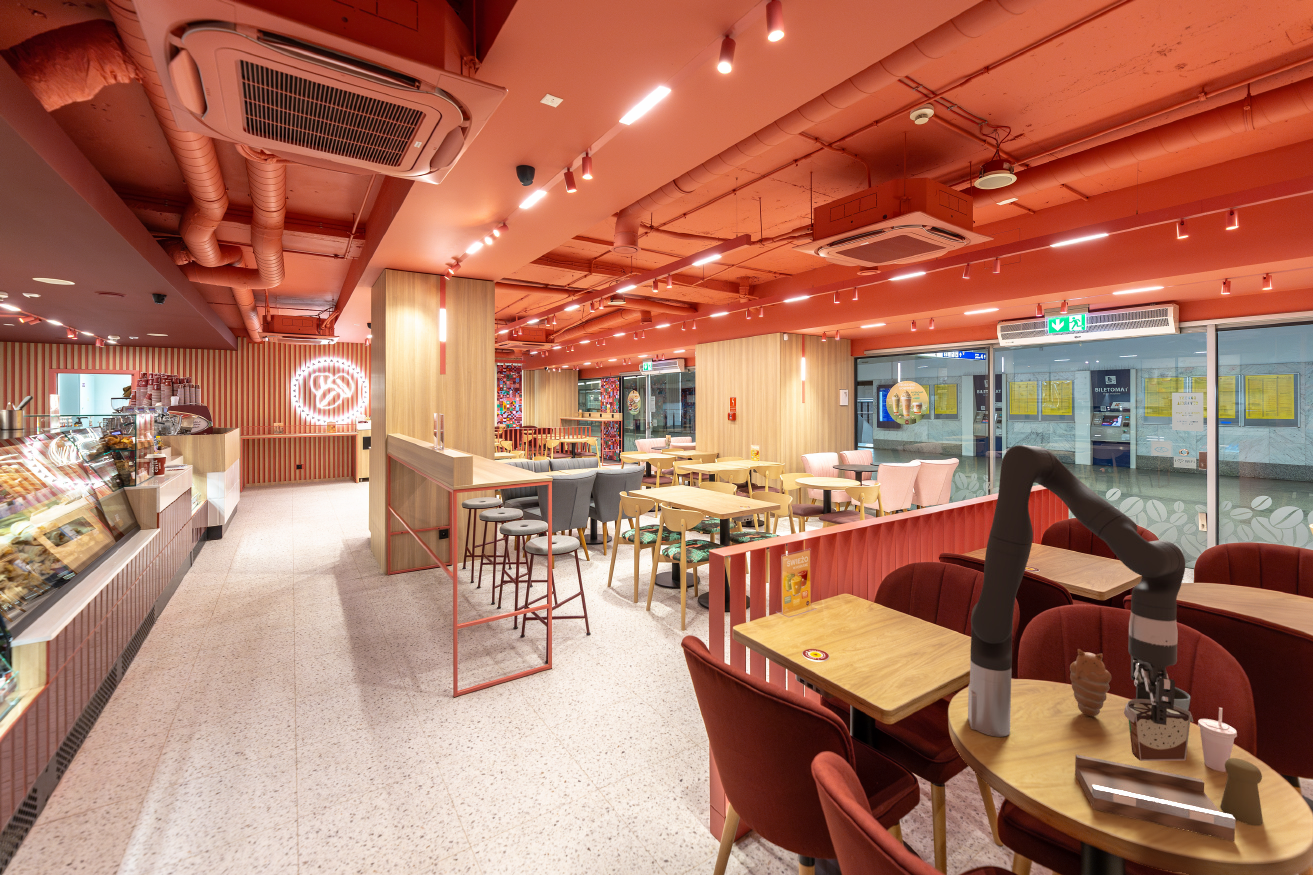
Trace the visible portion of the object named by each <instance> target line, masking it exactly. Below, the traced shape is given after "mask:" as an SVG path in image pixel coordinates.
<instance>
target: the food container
mask: <svg viewBox="0 0 1313 875" xmlns="http://www.w3.org/2000/svg"><path fill="white" fill-rule="evenodd" d="M1151 704H1152V703H1151V700H1149V699H1136V698H1133V699H1130V700H1129V701H1128V702H1127V703H1126V704H1125V707H1124V710H1123V714H1124V716H1125V718H1126V719H1128V728H1129V737H1130V747H1131V754H1132V755H1133V757H1135V758H1136V759H1137V760H1139V761H1140V762H1148V761H1149V762H1155V761H1156V762H1157V761H1159V762H1160V761H1161V762H1162V761H1165V762H1167V761H1169V762H1170V761H1171V762H1173V761H1187V755H1188V754H1187V753H1188V744H1189V736H1190V726H1191V722H1192V723H1194V719H1193V715H1192V712H1191V711H1189V710H1188V711H1187V710H1185V709H1183V708H1180V707H1178V706H1175V705H1174V708H1173V709H1171V708H1167V721H1166V724H1165V725H1162V724H1156V723H1154V722H1153V721H1152V720H1151Z"/></svg>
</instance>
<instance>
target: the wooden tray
mask: <svg viewBox="0 0 1313 875" xmlns="http://www.w3.org/2000/svg"><path fill="white" fill-rule="evenodd" d="M1074 760H1075V762H1074V767H1075V768H1074V774H1075V776H1076V778H1077V780H1078V782H1079V783H1080V785H1081V788H1082V789H1083V792H1084V794H1085V796H1086V797H1087V799H1088V801H1089V803H1090V805H1091V807H1092V809H1093V810H1094V809H1095V811H1099V812H1104V813H1109V814H1112V815H1117V816H1121V817H1126V818H1130V819H1135V820H1138V821H1143V822H1147V823H1151V824H1152V823H1153V824H1155V825H1156V824H1157V825H1160V826H1164V827H1169V826H1170V827H1169V828H1173V827H1174V828H1173V829H1178V828H1179V830H1182V829H1184V830H1183V831H1186V830H1189V831H1188V832H1191V831H1192V833H1195V832H1197V833H1196V834H1201V835H1204V834H1205V836H1208V835H1211V836H1210V837H1214V838H1218V839H1220V840H1221V839H1222V840H1227V841H1231V842H1235V836H1236V835H1235V834H1236V820H1235V818H1234V817H1233V815H1231V814H1227V813H1224V812H1223V811H1221V809H1219V808H1218V806H1216V805H1215V803H1214V802H1213V801H1212V799H1211V798H1210V797H1209V796H1208V794H1207V793H1206V792H1205V782H1204V781H1203V779H1202V778H1196V777H1193V776H1192V777H1191V776H1186V775H1182V774H1177V773H1172V772H1166V771H1162V770H1158V769H1157V770H1156V769H1151V768H1147V767H1146V768H1145V767H1141V766H1138V765H1137V766H1136V765H1132V764H1126V763H1120V762H1118V761H1117V762H1115V761H1111V760H1106V759H1101V758H1096V757H1093V756H1092V757H1091V756H1086V755H1080V754H1075V758H1074Z"/></svg>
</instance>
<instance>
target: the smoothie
mask: <svg viewBox="0 0 1313 875" xmlns="http://www.w3.org/2000/svg"><path fill="white" fill-rule="evenodd" d="M1197 722H1198V723H1197V726H1198V728H1199V729H1200V730H1199V731H1200V739H1201V740H1200V741H1201V746H1202V747H1201V748H1202V754H1203V762H1204V765H1205V766H1207V767H1208V768H1210V769H1212V770H1214V771H1218V772H1223V773H1224V772H1226V769H1225V762H1226V761H1227V760H1228V759H1230V758H1231V754H1232V750H1233V747H1234V741H1235V738H1238V734H1237V733H1238V732H1237V730H1236V728H1234V727H1232V726H1230V725H1229V724H1227V723H1225V722H1223V707H1218V720H1214V719H1210V718H1209V719H1208V718H1200V719H1198V721H1197Z"/></svg>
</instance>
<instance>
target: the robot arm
mask: <svg viewBox="0 0 1313 875" xmlns="http://www.w3.org/2000/svg"><path fill="white" fill-rule="evenodd" d="M1000 464H1001V465H1000V466H1001V467H1000V473H999V474H1000V476H999V486H998V493H997V501H996V505H995V508H994V513H993V520H992V522H991V523H992V524H991V528H990V531H989V535H988V540H987V544H986V549H985V550H986V551H985V557H984V564H983V565H984V567H983V568H984V569H983V581H982V582H983V584H982V589H981V592H980V595H979V599H978V601H977V603H975V605H974V606H973V607H972V609H971V616H970V623H971V630H970V634H971V636H970V661H969V662H970V664H969V665H970V666H969V667H970V669H969V670H970V671H969V683H968V691H967V693H968V696H967V697H968V700H967V701H968V702H967V706H968V707H967V718H968V723H969V727H970V729H971V730H974V731H978V732H980V733H982V734H984V735H987V736H991V737H1001V738H1002V737H1007V736H1009V735H1010V734H1011V711H1012V710H1011V708H1012V707H1011V703H1012V702H1011V701H1012V700H1011V699H1012V697H1011V696H1012V666H1013V665H1012V662H1013V658H1012V657H1013V647H1012V646H1013V628H1014V625H1013V623H1014V622H1013V621H1014V610H1015V602H1016V599H1017V598H1016V597H1017V593H1018V590H1019V588H1020V585H1021V583H1022V580H1023V577H1024V574H1025V572H1026V568H1027V564H1028V561H1029V558H1030V554H1031V551H1032V544H1033V540H1034V531H1033V526H1032V521H1031V520H1032V519H1031V516H1030V510H1029V505H1030V504H1029V503H1030V497H1031V492H1032V489H1033V485H1034V484H1035V483H1036V484H1038V485H1040V486H1041V487H1043V488H1045V489H1047V490H1048V491H1050V492H1051V493H1052V494H1054V495H1056V497H1058V498H1059V499H1060V500H1061V501H1062V502H1063V503H1064V504H1065V505H1066V507H1067V508H1068V509H1069V511H1070V512H1071V514H1072V515H1073V516H1074V518H1075V519H1077V520H1078V522H1079V523H1081V524H1082V525H1083V527H1085V528H1087V529H1088V530H1089V531H1090V532H1092V533H1093V534H1094V535H1096V536H1097V538H1099V539H1101V540H1102V541H1104V542H1105V543H1106V545H1107V546H1108V548H1109V549H1110V550H1111V551H1112V552H1113V554H1114V555H1115V556H1116V557H1117V558H1118V559H1119V561H1120V562H1121V563H1122V564H1123V565H1124V566H1125V567H1126V568H1128V569H1129V570H1130V571H1132V572H1133V573H1135V574H1137V575H1139V576H1141V578H1140V581H1139V582H1138V583H1137V584H1136V585H1135V586H1134V587H1132V590H1131V597H1130V600H1131V601H1130V604H1131V605H1130V615H1129V621H1128V647H1127V648H1128V650H1127V651H1128V654H1129V655H1130V679H1131V680H1132V681H1133V684H1134V686H1135V688H1136V689H1135V699H1149V700H1150V697H1151V703H1152V704H1151V720H1152V721H1153V722H1154V723H1156V724H1162V725H1165V724H1166V721H1167V708H1171V709H1173V708H1174V694H1175V687H1176V681H1175V680H1174V679H1170V678H1169V675H1168V671H1167V667H1169V666H1174V665H1176V664H1177V662H1178V635H1179V634H1178V624H1177V623H1178V622H1177V612H1178V610H1177V608H1178V607H1177V606H1178V604H1177V603H1178V602H1177V598H1178V595H1179V593H1180V591H1181V590H1180V589H1181V586H1182V583H1183V580H1184V576H1185V572H1186V559H1185V556H1184V553H1183V552H1182V550H1181V548H1180V547H1179V546H1178V545H1176V544H1174V543H1173V542H1170V541H1167V540H1161V539H1160V540H1159V539H1158V540H1151V541H1148V540H1146V539H1145V538H1144V537H1142V535H1140V534H1139V533H1138V532H1137V531H1138V525H1137V523H1136V522H1135V521H1134V520H1133V519H1131V518H1130V517H1128V516H1127V515H1126V514H1125V513H1123V512H1122V511H1121V510H1120V509H1118V508H1117V507H1115V506H1114V505H1113V504H1111V503H1110V502H1108V501H1107V500H1106V499H1104V498H1103V497H1101V496H1100V495H1099V494H1097V493H1096V492H1095V491H1093V490H1092V489H1091V488H1090V487H1088V486H1087V485H1086V484H1085V483H1084V482H1082V480H1080V479H1079V478H1078V477H1077V476H1076V475H1075V474H1074V473H1072V472H1071V471H1070V470H1069V469H1068V468H1067V466H1066V465H1064V463H1062V461H1061V460H1059V459H1058V457H1057V456H1056V455H1054V454H1053V453H1052V452H1051V451H1050V450H1049V449H1046V448H1044V447H1042V446H1034V445H1025V444H1019V445H1018V444H1017V445H1013V446H1012V447H1010V448H1009V449H1008V450H1006V452H1005V453H1004V455H1003V458H1002V460H1001V463H1000ZM1136 686H1137V687H1136ZM1152 687H1156V689H1153V688H1152ZM1155 694H1156V696H1155ZM1161 698H1163V700H1161Z"/></svg>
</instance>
